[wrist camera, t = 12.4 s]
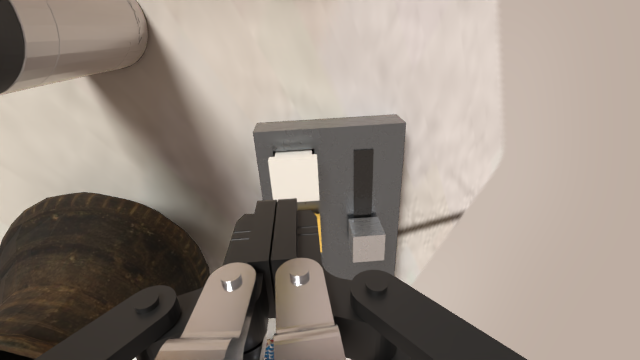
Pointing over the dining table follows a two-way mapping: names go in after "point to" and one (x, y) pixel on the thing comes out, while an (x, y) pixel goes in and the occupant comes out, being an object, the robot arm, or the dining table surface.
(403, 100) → the dining table surface
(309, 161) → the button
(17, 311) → the ceramic pot
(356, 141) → the panel
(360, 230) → the brushed metal cube
